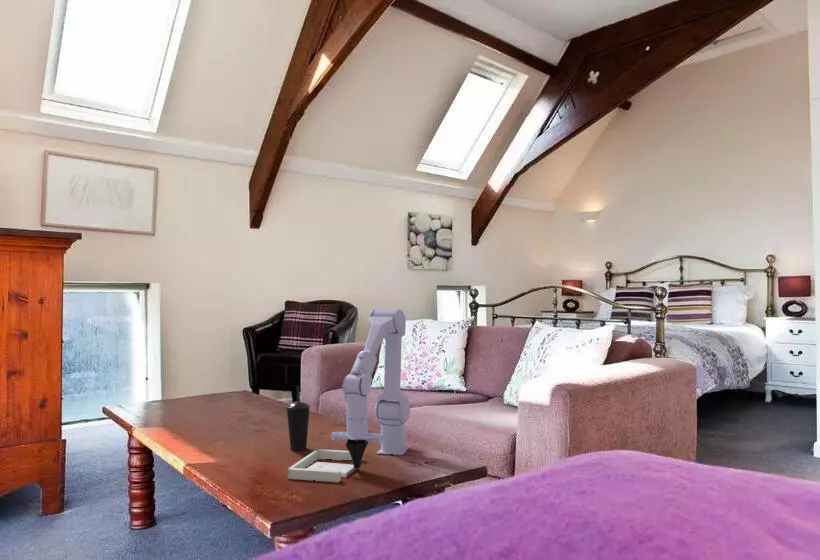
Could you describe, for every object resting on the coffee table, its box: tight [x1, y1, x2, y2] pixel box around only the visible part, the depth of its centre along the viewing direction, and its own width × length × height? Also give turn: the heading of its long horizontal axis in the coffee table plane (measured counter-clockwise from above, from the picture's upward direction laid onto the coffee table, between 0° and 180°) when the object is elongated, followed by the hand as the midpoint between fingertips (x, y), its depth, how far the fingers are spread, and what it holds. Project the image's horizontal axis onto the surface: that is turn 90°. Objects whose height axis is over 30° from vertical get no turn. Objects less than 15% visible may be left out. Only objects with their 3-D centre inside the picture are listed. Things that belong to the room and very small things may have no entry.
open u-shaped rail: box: [286, 448, 364, 483], centre depth 166 cm, size 20×14×2 cm
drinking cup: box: [285, 384, 311, 452], centre depth 188 cm, size 8×8×20 cm
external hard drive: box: [305, 461, 358, 478], centre depth 164 cm, size 2×8×12 cm
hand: (357, 467), depth 164 cm, fingers closed
